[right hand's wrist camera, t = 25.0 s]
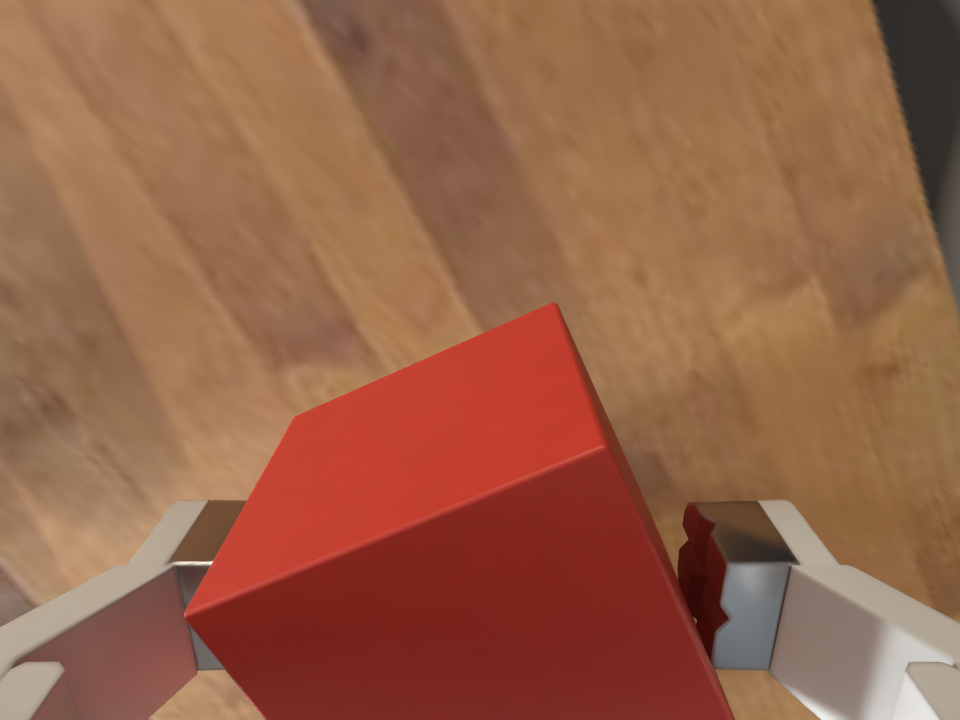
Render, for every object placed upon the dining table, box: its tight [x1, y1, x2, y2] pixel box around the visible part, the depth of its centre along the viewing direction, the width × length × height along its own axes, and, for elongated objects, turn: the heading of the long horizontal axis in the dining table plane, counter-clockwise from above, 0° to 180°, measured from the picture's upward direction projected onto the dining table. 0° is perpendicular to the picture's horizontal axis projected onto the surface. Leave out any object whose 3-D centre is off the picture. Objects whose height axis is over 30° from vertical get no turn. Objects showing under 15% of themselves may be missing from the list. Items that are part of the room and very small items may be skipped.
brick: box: [184, 303, 735, 720], centre depth 10 cm, size 5×5×5 cm
